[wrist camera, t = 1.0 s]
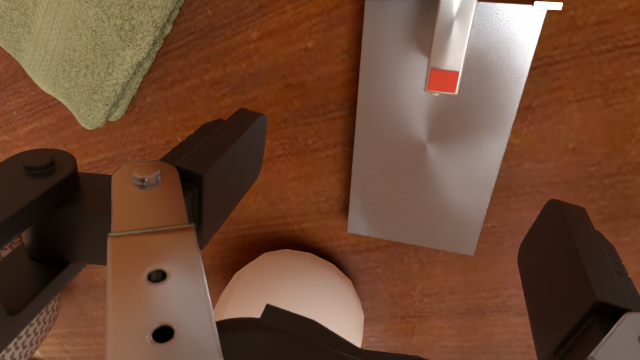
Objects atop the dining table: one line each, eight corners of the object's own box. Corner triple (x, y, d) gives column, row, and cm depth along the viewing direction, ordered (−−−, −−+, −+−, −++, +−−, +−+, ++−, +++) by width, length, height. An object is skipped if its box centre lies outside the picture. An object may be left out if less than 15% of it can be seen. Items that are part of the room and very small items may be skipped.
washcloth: (-8, 23, 34) (-46, 30, 32) (57, -192, 25) (11, -206, 22) (118, 131, 37) (92, 147, 34) (220, -27, 28) (196, -22, 25)
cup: (293, 339, 46) (244, 470, 35) (219, 255, 42) (137, 372, 31) (397, 314, 40) (377, 463, 28) (322, 211, 36) (265, 338, 24)
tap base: (369, -121, 23) (362, -126, 21) (589, -120, 21) (603, -125, 19) (344, 217, 35) (339, 232, 33) (480, 241, 33) (482, 259, 31)
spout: (450, -75, 21) (452, -77, 16) (482, -74, 21) (494, -76, 16) (428, 60, 25) (423, 94, 20) (455, 62, 25) (457, 97, 19)
